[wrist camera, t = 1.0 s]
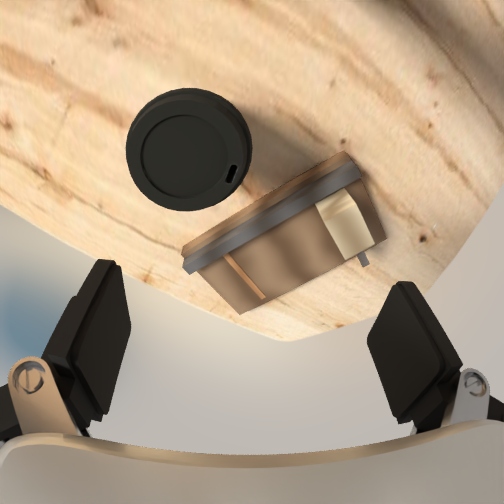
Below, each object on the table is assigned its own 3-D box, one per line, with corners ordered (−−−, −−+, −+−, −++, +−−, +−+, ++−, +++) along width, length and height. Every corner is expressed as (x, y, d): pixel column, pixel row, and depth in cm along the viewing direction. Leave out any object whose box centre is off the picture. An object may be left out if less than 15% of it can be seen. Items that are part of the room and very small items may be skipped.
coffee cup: (179, 70, 29) (138, 74, 17) (261, 97, 31) (275, 118, 19) (154, 146, 34) (107, 198, 22) (230, 171, 36) (225, 235, 24)
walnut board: (343, 150, 35) (354, 160, 32) (381, 231, 42) (392, 246, 39) (183, 246, 42) (178, 263, 39) (239, 306, 49) (240, 324, 46)
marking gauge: (340, 182, 35) (356, 204, 31) (368, 240, 40) (384, 266, 35) (312, 198, 37) (323, 222, 32) (344, 254, 42) (356, 281, 37)
